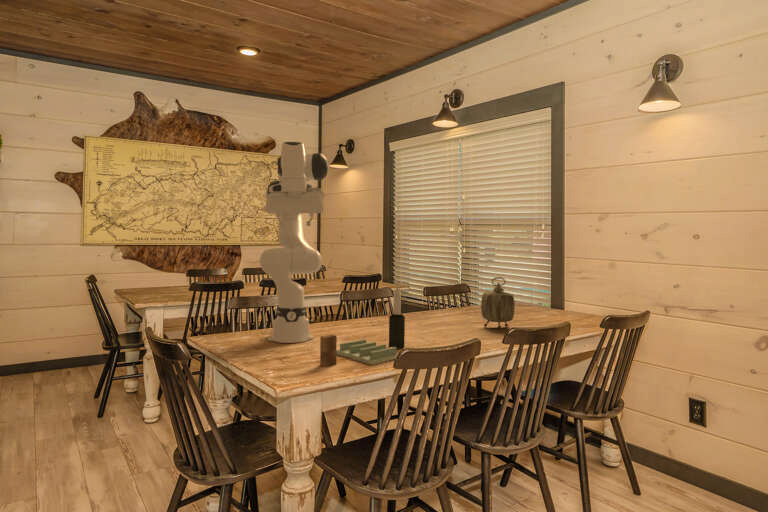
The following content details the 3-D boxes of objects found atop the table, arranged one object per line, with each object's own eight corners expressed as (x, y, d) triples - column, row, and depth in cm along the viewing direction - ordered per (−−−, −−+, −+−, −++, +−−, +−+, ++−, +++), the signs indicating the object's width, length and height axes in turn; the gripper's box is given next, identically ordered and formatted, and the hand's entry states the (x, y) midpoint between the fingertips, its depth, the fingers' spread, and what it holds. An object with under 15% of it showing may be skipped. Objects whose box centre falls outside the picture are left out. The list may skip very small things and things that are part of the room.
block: (324, 366, 165) (324, 337, 164) (320, 365, 166) (320, 336, 166) (336, 364, 168) (336, 335, 168) (332, 362, 170) (332, 334, 169)
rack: (371, 365, 167) (371, 353, 167) (336, 354, 182) (336, 343, 182) (400, 358, 177) (400, 347, 177) (364, 348, 192) (364, 338, 191)
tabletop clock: (508, 326, 243) (509, 276, 242) (515, 329, 234) (516, 278, 233) (480, 326, 241) (481, 276, 240) (486, 330, 232) (487, 278, 231)
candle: (396, 345, 198) (397, 284, 197) (405, 347, 194) (406, 285, 193) (387, 347, 194) (388, 285, 193) (396, 349, 191) (397, 286, 190)
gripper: (323, 187, 177) (323, 225, 178) (265, 188, 173) (266, 226, 175) (324, 186, 171) (325, 226, 172) (264, 187, 167) (266, 227, 168)
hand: (295, 226), depth 173 cm, fingers open, 8 cm apart
